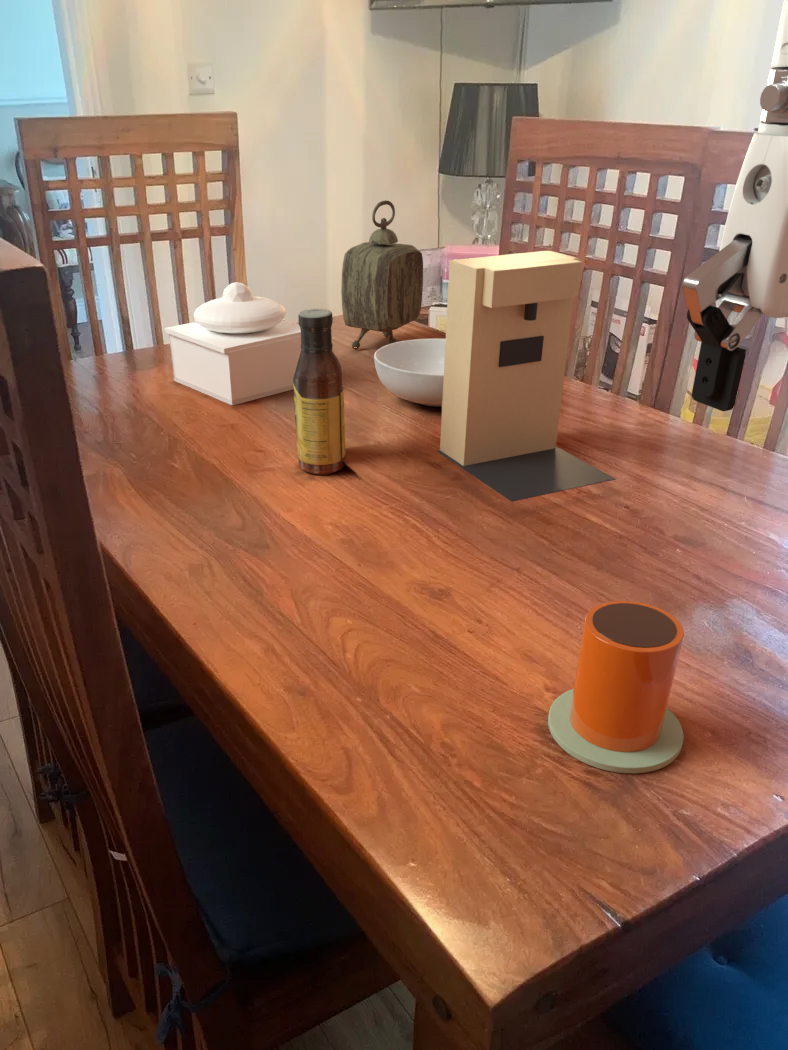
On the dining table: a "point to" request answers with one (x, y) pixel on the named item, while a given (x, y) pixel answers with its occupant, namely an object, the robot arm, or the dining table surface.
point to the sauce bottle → (319, 397)
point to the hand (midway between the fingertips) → (766, 393)
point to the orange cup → (625, 675)
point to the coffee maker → (510, 372)
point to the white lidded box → (236, 347)
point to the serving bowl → (413, 370)
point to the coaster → (608, 759)
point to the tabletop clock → (381, 282)
